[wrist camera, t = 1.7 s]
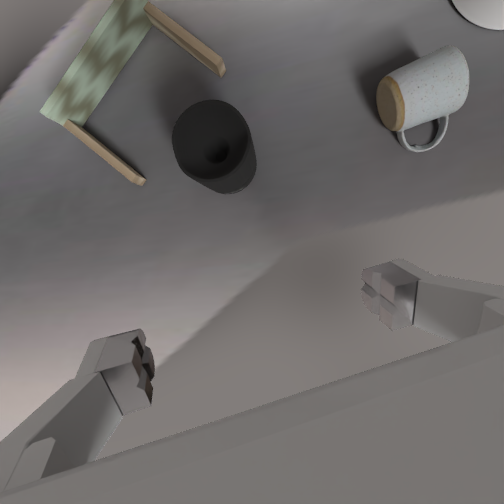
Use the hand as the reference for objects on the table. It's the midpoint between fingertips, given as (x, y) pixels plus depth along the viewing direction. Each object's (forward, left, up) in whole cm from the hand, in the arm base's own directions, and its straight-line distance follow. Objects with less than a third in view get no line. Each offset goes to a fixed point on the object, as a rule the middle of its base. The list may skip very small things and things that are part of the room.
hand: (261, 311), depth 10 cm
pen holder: (-6, -14, -32) cm, 36 cm away
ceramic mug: (-28, +2, -32) cm, 42 cm away
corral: (-6, -30, -32) cm, 44 cm away
